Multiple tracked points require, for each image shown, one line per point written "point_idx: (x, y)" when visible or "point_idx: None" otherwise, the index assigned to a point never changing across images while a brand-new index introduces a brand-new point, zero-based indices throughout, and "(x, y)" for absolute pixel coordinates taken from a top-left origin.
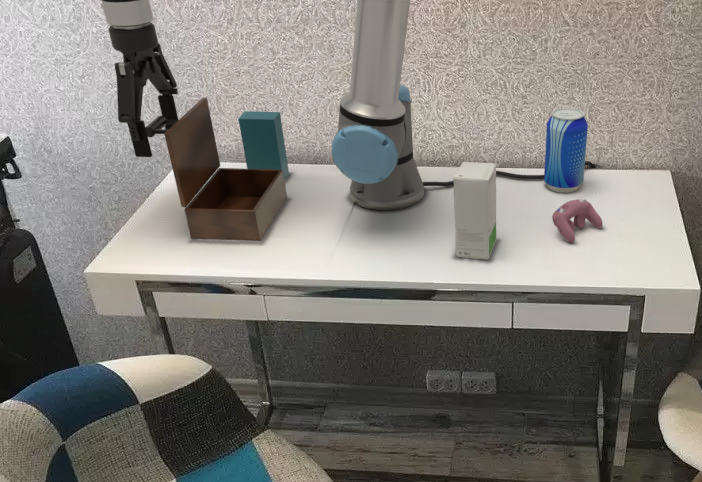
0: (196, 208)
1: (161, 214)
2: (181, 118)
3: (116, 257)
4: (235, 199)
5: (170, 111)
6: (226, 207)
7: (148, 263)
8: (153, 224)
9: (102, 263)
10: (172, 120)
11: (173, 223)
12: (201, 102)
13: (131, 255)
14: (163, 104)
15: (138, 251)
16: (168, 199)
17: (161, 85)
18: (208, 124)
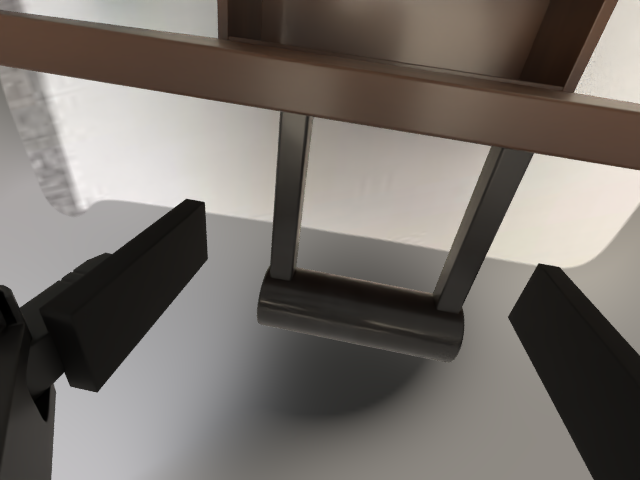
0: (580, 53)
1: (345, 196)
2: (563, 142)
3: (541, 245)
4: (283, 2)
5: (152, 272)
6: (337, 22)
7: (607, 175)
8: (394, 203)
9: (559, 265)
10: (289, 239)
11: (398, 160)
12: (20, 18)
13: (544, 219)
14: (130, 328)
15: (529, 209)
16: (268, 196)
17: (22, 471)
18: (138, 29)
